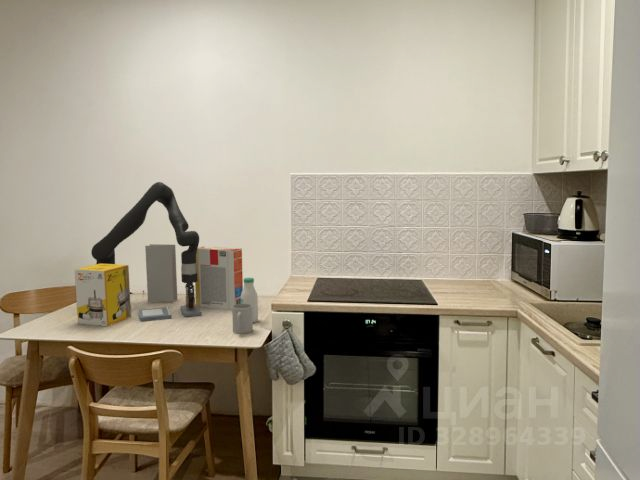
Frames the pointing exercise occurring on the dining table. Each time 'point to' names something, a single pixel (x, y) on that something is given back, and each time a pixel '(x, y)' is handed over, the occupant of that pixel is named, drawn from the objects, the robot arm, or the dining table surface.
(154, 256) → the plain grey carton
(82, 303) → the packaging box
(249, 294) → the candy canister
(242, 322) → the mug
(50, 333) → the dining table surface
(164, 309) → the blue-grey display panel
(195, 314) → the blue-grey two-tone fixture
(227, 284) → the pasta box
